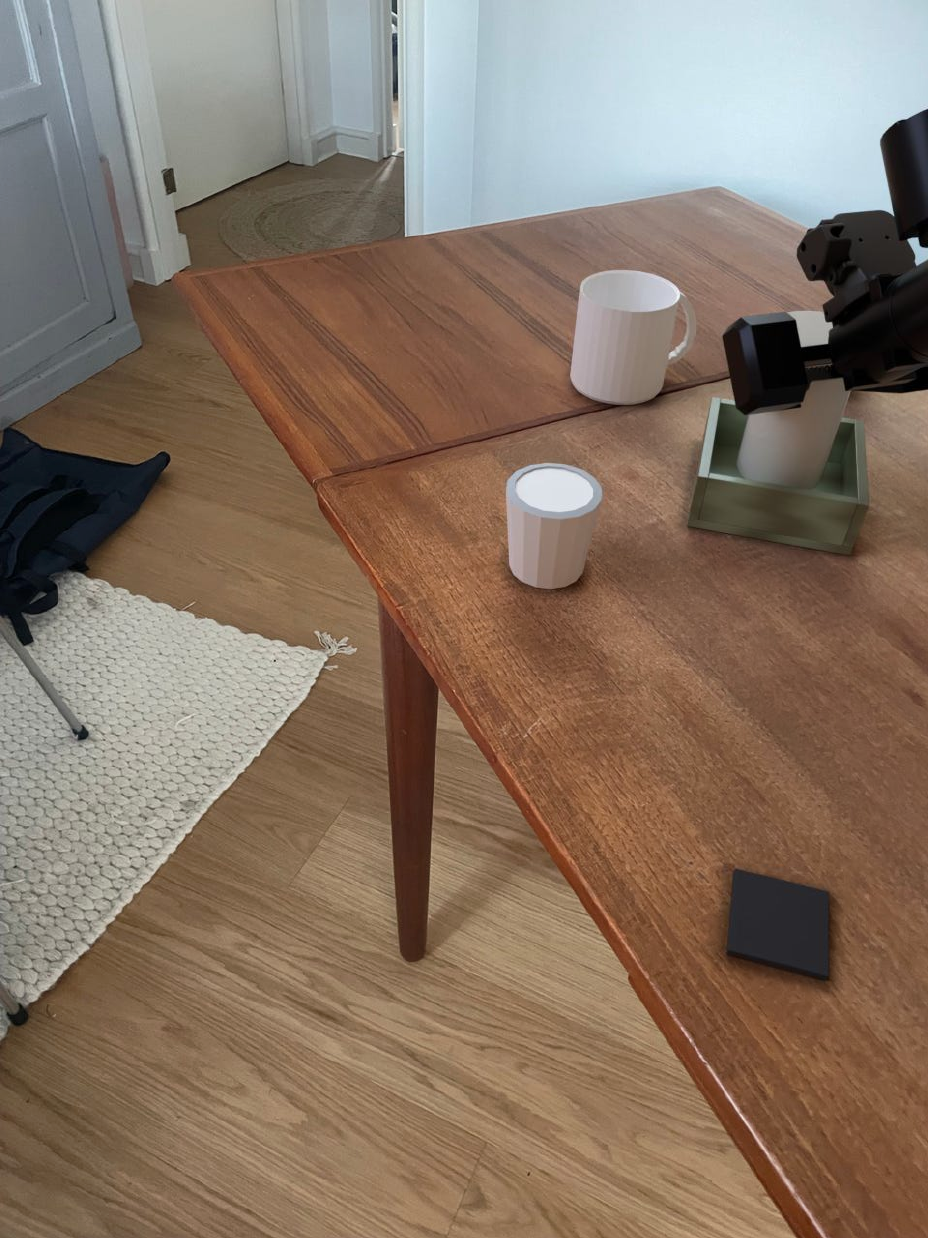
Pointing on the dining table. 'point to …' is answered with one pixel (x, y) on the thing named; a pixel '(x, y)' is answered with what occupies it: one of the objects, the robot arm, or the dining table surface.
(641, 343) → the mug
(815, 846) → the dining table surface
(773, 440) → the white cylinder
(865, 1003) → the dining table surface
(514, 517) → the faceted white cup
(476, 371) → the dining table surface
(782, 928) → the coaster
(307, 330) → the dining table surface
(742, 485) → the wooden box
